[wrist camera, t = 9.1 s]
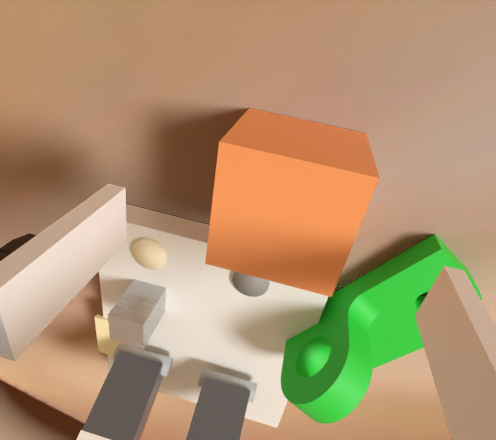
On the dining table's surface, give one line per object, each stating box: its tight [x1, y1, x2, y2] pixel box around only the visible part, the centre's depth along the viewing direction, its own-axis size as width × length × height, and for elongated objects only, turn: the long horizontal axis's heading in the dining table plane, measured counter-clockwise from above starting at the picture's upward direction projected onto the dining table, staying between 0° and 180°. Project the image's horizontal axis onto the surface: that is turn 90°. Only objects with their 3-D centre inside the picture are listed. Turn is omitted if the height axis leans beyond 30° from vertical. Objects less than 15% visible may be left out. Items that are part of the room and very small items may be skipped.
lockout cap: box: [205, 108, 379, 297], centre depth 18 cm, size 6×6×6 cm
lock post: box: [108, 279, 166, 349], centre depth 24 cm, size 2×2×4 cm
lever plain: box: [186, 367, 257, 440], centre depth 25 cm, size 2×4×8 cm, turn 81°
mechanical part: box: [281, 234, 481, 423], centre depth 21 cm, size 12×6×8 cm, turn 138°
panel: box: [94, 204, 328, 428], centre depth 27 cm, size 18×17×2 cm
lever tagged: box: [77, 343, 173, 440], centre depth 25 cm, size 2×4×8 cm, turn 81°
